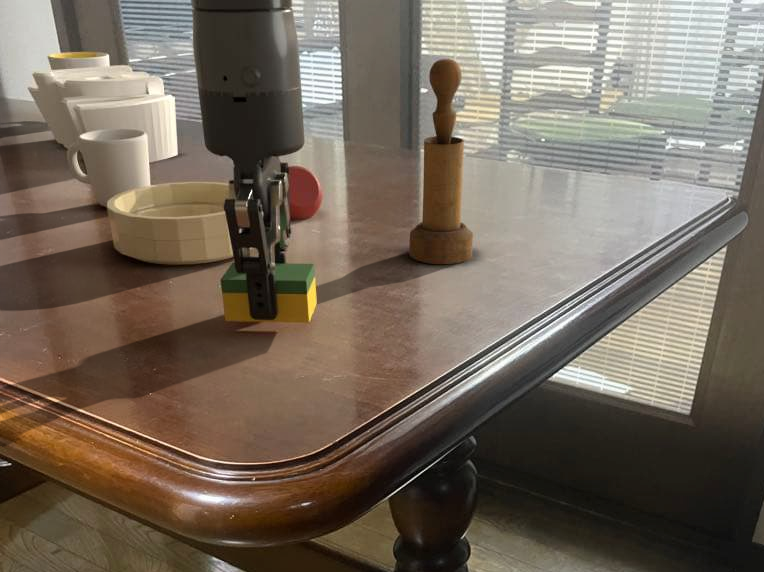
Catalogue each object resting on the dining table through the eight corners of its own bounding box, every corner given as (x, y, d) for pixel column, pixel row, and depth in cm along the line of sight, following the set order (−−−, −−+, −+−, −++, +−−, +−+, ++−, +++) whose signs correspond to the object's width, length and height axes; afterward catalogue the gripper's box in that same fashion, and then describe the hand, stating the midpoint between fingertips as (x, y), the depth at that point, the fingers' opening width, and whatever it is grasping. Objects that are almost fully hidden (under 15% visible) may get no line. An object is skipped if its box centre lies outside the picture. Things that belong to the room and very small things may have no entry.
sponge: (225, 321, 72) (220, 279, 70) (236, 302, 76) (232, 262, 74) (309, 322, 72) (306, 280, 70) (316, 304, 76) (314, 263, 74)
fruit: (318, 226, 108) (304, 159, 107) (331, 211, 102) (316, 141, 101) (270, 232, 106) (255, 164, 105) (281, 217, 100) (265, 146, 99)
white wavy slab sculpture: (195, 165, 127) (185, 84, 121) (79, 178, 120) (62, 92, 114) (133, 127, 152) (122, 58, 146) (34, 136, 145) (18, 64, 139)
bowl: (94, 266, 88) (84, 217, 85) (141, 224, 101) (134, 180, 98) (247, 269, 87) (242, 219, 85) (275, 226, 100) (271, 182, 97)
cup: (58, 208, 107) (42, 137, 103) (96, 193, 113) (83, 125, 109) (134, 215, 104) (122, 142, 100) (169, 199, 110) (159, 130, 106)
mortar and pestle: (447, 268, 87) (453, 65, 77) (396, 257, 91) (395, 60, 80) (484, 253, 92) (494, 58, 82) (434, 242, 95) (437, 54, 85)
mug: (126, 122, 156) (115, 55, 150) (67, 127, 152) (53, 58, 146) (107, 111, 166) (96, 48, 160) (52, 115, 162) (38, 51, 156)
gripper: (221, 68, 70) (243, 279, 80) (172, 94, 58) (205, 338, 68) (314, 68, 70) (325, 280, 79) (283, 95, 58) (301, 340, 68)
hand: (270, 306), depth 74 cm, fingers closed on sponge, 4 cm apart
